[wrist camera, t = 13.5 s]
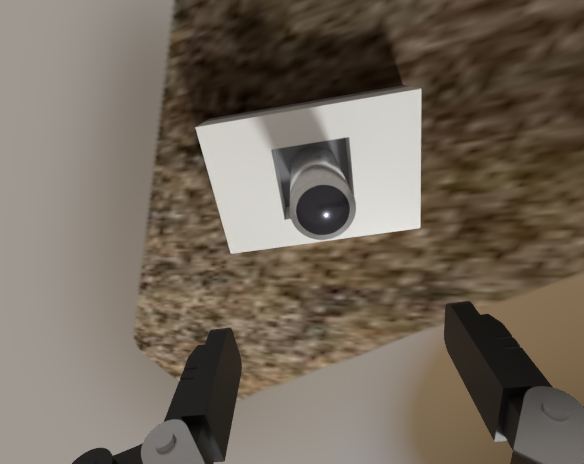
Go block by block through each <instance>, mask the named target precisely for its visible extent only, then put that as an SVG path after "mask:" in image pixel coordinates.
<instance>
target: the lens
mask: <svg viewBox="0 0 584 464" xmlns="http://www.w3.org/2000/svg"><path fill="white" fill-rule="evenodd" d="M355 214H356V202H355V198H354V196H353V194H352V192H351V190H350V188H349V185H348V183H347V181H346V179H345V177H344V175H343V173H342V171H341V169H340V167H339V165H338V163H337V160H336V158H335V157H334V155H333V154H332V153H331V152H330V151H328V150H327V149H324V148H322V147H309V148H306V149H304V150H302V151H301V152H299V153H298V154H297V155H296V156H295V158H294V160H293V162H292V165H291V179H290V217H291V220H292V223H293V224H294V226H295V227H296V229H297V230H298V231H299V232H300V233H302V234H303V235H305V236H307V237H309V238H312V239H317V240H327V239H331V238H335V237H337V236H339V235H340V234H342V233H343V232H345V231H346V230H347V229H348V228H349V226H350V225H351V224H352V222H353V220H354V217H355Z"/></svg>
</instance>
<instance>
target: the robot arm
mask: <svg viewBox="0 0 584 464" xmlns="http://www.w3.org/2000/svg"><path fill="white" fill-rule="evenodd" d="M444 339H445V344H446V348H447V350H448V353H449V355H450V357H451V359H452V361H453V363H454V365H455V367H456V369H457V370H458V372H459V374H460V376H461V378H462V380H463V382H464V384H465V386H466V388H467V390H468V392H469V394H470V396H471V398H472V399H473V401H474V403H475V405H476V407H477V409H478V411H479V413H480V415H481V417H482V419H483V421H484V423H485V425H486V426H487V428H488V430H489V432H490V434H491V436H492V438H493V440H494V441H495V442H497V441H508V443H509V445H510V446H511V448H512V450H513V453H512V458H511V463H510V464H584V406H582V405H581V403H580V402H579V401H577V400H576V399H575V398H574V397H572V396H571V395H569V394H567V393H565V392H564V391H561V390H559V389H556V388H553V387H552V386H551V385H550V383H549V382H548V381H547V379H546V378H545V377H544V376H543V374H542V373H541V372H540V370H539V369H538V368H537V367H536V366H535V364H534V363H533V362H532V360H531V359H530V358H529V356H528V355H527V354H526V353H525V351H524V350H523V349H522V348H520V345H519V344H518V343H517V341H516V340H515V339H514V338H512V335H511V334H510V332H509V331H508V330H507V329H506V327H505V326H504V325H503V324H502V323H501V322H500V321H498V320H497V319H495V318H494V317H492V316H491V315H489V314H485V315H480V314H479V313H478V311H477V310H476V309H475V307H474V306H473V304H472V303H471V302H469V301H465V302H457V303H448V304H446V308H445V328H444ZM241 370H242V364H241V357H240V353H239V350H238V347H237V344H236V341H235V337H234V334H233V331H232V329H231V328H223V329H215V330H211V331H210V332H209V335H208V338H207V341H206V344H205V345H198V346H197V347H196V348H195V350H194V351H193V352H192V353H191V354H190V356H189V357H188V360H187V362H186V365H185V368H184V371H183V373H182V375H181V378H180V381H179V384H178V386H177V389H176V392H175V394H174V397H173V399H172V402H171V404H170V407H169V410H168V412H167V415H166V418H165V420H164V422H163V423H161V424H159V425H158V426H156V427H155V428H154V429H153V430H152V431H151V432H150V433H149V434H148V435H147V437H146V438H145V440H144V442H143V443H142V444H140V445H139V446H136V447H134V448H131V449H129V450H126V451H124V452H122V453H119V454H117V455H114V456H112V454H111V452H110V451H109V450H107V449H105V448H96V449H93V450H90V451H88V452H86V453H84V454H83V455H81V456H80V457H78V458H77V459H76V460H75V461H74V462H73V463H72V464H213V463H214V462H223V461H225V456H226V450H227V445H228V441H229V435H230V430H231V425H232V419H233V414H234V408H235V403H236V398H237V393H238V388H239V382H240V377H241Z"/></svg>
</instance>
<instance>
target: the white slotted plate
mask: <svg viewBox="0 0 584 464" xmlns="http://www.w3.org/2000/svg"><path fill="white" fill-rule="evenodd" d="M195 128H196V131H197V135H198V139H199V142H200V146H201V149H202V153H203V156H204V160H205V163H206V167H207V171H208V174H209V178H210V181H211V185H212V188H213V192H214V195H215V199H216V202H217V206H218V210H219V213H220V217H221V220H222V224H223V227H224V231H225V234H226V238H227V241H228V245H229V249H230V252H231V254H233V253H240V252H247V251H255V250H262V249H269V248H277V247H284V246H291V245H299V244H306V243H314V242H321V241H328V240H336V239H343V238H350V237H358V236H365V235H372V234H380V233H387V232H394V231H402V230H409V229H416V228H420V201H421V89H420V88H415V87H410V86H405V85H401V86H395V87H389V88H384V89H378V90H372V91H366V92H360V93H355V94H349V95H343V96H337V97H331V98H326V99H320V100H314V101H308V102H302V103H297V104H291V105H285V106H279V107H273V108H268V109H262V110H256V111H250V112H244V113H239V114H233V115H227V116H221V117H215V118H210V119H208V120H206V121H205V122H203V123H202V124H200V125H198V126H197V127H195ZM309 147H322V148H324V149H327V150H328V151H330V152H331V153H332V154H333V155H334V157H335V158H336V160H337V163H338V165H339V167H340V169H341V171H342V173H343V175H344V177H345V179H346V181H347V183H348V185H349V188H350V190H351V192H352V194H353V196H354V198H355V202H356V214H355V217H354V220H353V222H352V224H351V225H350V226H349V228H348V229H347V230H346V231H345V232H343V233H342V234H340V235H339V236H337V237H335V238H331V239H327V240H317V239H312V238H309V237H307V236H305V235H303V234H302V233H300V232H299V231H298V230H297V229H296V227H295V226H294V224H293V223H292V220H291V217H290V179H291V165H292V162H293V160H294V158H295V156H296V155H297V154H298V153H299V152H301V151H302V150H304V149H306V148H309Z"/></svg>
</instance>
